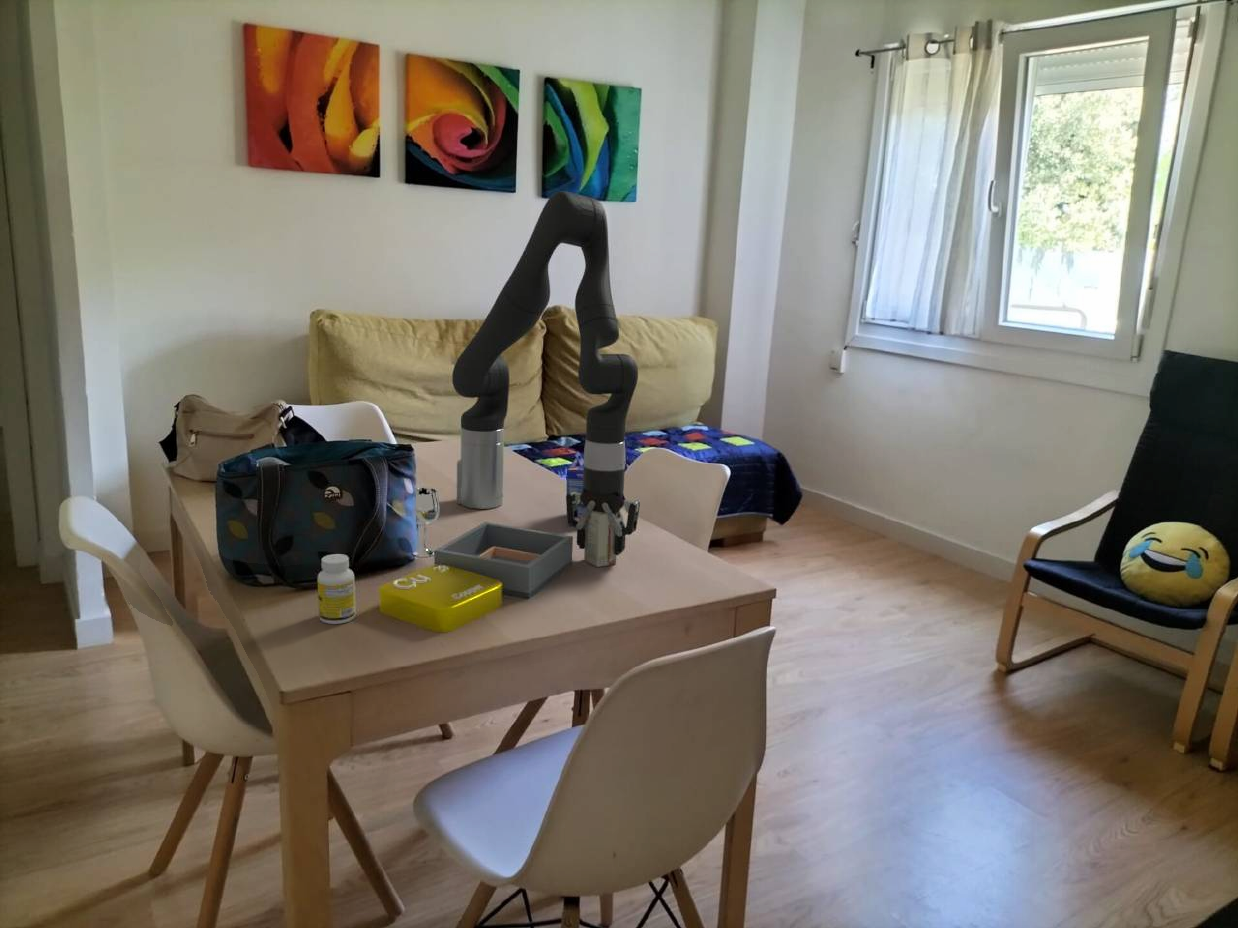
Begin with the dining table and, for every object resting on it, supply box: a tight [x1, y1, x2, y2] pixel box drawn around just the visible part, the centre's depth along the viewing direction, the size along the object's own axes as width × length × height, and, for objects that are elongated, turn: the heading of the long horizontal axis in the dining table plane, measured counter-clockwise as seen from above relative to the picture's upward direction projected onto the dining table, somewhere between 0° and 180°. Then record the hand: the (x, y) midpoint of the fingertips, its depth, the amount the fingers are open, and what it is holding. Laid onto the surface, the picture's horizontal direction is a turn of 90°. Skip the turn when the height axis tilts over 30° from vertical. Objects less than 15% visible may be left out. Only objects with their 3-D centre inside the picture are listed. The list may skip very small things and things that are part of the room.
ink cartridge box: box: [566, 451, 586, 527], centre depth 195 cm, size 10×6×14 cm, turn 172°
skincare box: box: [583, 511, 618, 568], centre depth 171 cm, size 5×4×10 cm
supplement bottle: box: [317, 553, 356, 625], centre depth 142 cm, size 5×5×10 cm
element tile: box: [378, 563, 503, 633], centre depth 149 cm, size 15×15×5 cm
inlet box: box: [433, 521, 574, 600], centre depth 164 cm, size 18×18×6 cm
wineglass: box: [415, 487, 441, 558], centre depth 171 cm, size 6×6×12 cm
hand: (600, 550), depth 172 cm, fingers closed on skincare box, 6 cm apart
